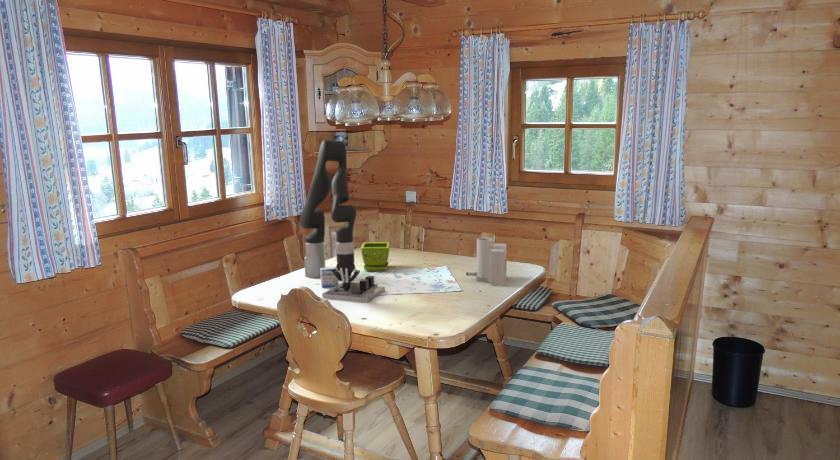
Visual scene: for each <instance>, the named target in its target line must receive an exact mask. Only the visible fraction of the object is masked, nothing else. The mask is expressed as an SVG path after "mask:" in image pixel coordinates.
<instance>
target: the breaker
mask: <svg viewBox="0 0 840 460" xmlns="http://www.w3.org/2000/svg"><path fill="white" fill-rule="evenodd" d="M352 282H353V283H352V284H350V286H351V294H360V283H354V282H355V281H352Z"/></svg>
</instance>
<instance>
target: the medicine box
mask: <svg viewBox="0 0 840 460" xmlns="http://www.w3.org/2000/svg"><path fill="white" fill-rule="evenodd" d="M334 268H336V266H331V267H330V266H329V267H325V268H320V274H321V277H320V286H321V288H323V289H325V288H333V287H335V286H337V285H338V284H340V283H339V282H340V281H339V280H338V279H337V277H336V276H335V275H334V273H333V272H332V270H333V269H334Z"/></svg>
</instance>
